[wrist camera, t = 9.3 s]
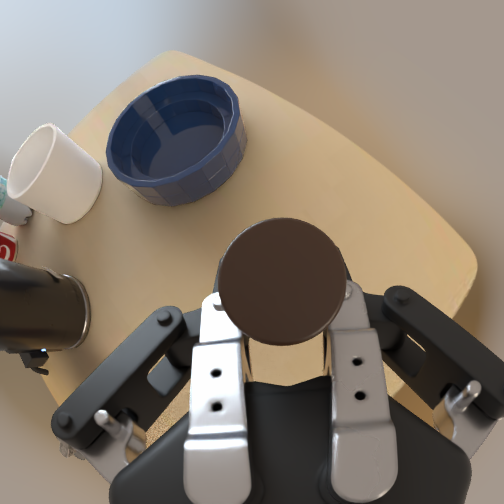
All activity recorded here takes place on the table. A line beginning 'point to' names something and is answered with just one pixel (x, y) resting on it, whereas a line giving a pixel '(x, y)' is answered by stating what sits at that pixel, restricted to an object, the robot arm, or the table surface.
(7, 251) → the soda can
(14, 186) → the mug
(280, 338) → the brown peg with base
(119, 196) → the table surface
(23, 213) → the bottle
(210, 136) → the bowl
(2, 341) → the robot arm
